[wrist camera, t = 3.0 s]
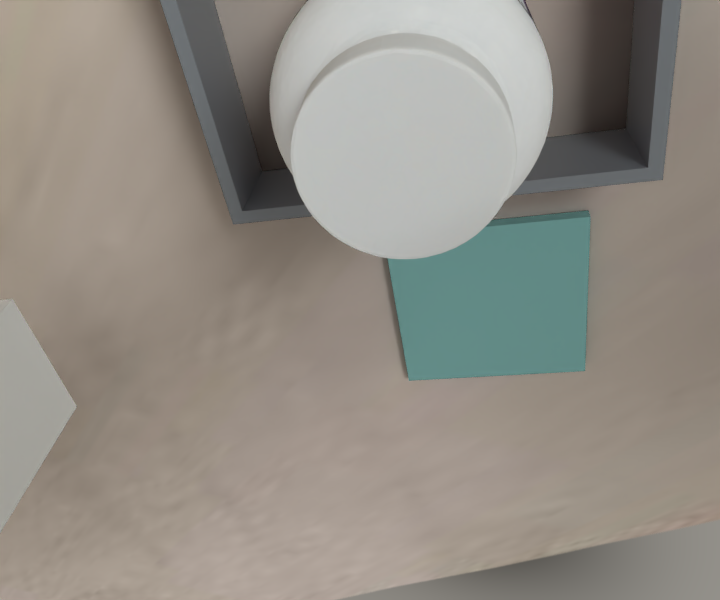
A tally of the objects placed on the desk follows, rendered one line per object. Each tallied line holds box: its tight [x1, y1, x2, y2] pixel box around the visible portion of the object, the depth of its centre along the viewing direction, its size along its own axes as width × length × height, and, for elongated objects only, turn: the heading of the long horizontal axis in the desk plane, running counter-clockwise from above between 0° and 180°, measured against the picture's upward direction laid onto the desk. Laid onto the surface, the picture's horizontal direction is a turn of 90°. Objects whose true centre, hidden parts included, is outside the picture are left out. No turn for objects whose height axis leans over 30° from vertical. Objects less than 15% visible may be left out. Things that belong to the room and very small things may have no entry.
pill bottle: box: [269, 0, 553, 259], centre depth 22 cm, size 8×8×14 cm
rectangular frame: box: [160, 0, 681, 224], centre depth 26 cm, size 13×18×4 cm
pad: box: [387, 211, 590, 381], centre depth 36 cm, size 10×10×1 cm
